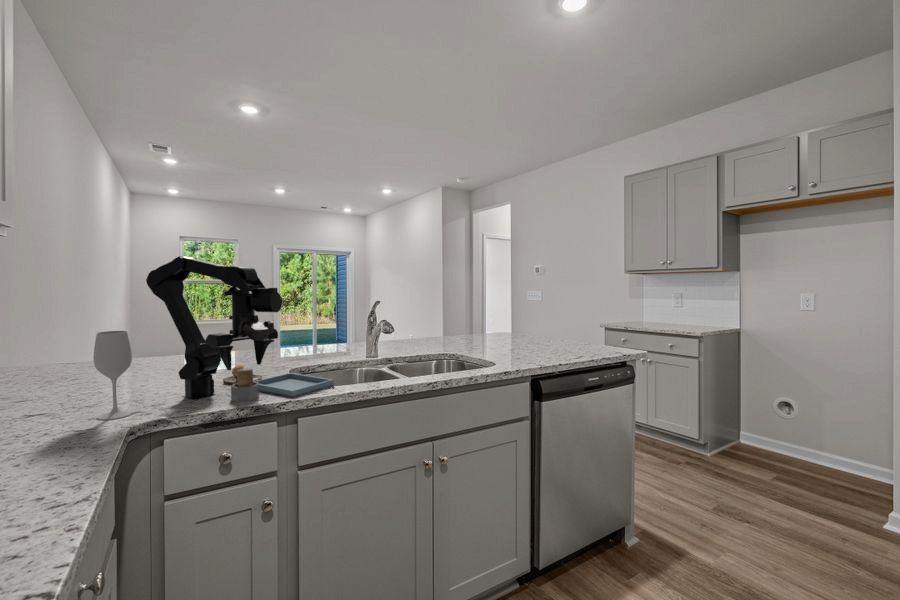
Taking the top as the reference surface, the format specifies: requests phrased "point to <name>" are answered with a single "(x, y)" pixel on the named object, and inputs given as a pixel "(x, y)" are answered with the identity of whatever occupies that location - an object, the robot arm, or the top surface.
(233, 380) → the burger
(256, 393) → the cup
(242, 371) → the peg
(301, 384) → the tray
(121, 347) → the wineglass
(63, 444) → the top surface
